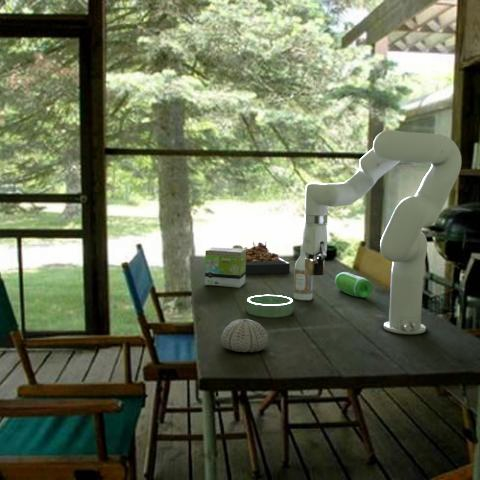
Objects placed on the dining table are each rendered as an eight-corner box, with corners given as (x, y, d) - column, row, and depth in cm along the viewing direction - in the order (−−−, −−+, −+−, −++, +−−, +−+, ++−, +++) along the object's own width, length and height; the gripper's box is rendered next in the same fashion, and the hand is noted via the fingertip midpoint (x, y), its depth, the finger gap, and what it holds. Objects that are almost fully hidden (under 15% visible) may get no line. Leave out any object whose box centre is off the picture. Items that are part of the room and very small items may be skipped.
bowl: (293, 319, 202) (294, 305, 202) (247, 318, 203) (247, 304, 202) (290, 308, 218) (291, 295, 217) (247, 307, 218) (247, 294, 217)
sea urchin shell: (219, 341, 177) (219, 314, 176) (266, 341, 178) (267, 313, 177) (221, 356, 164) (221, 326, 163) (272, 355, 165) (272, 326, 163)
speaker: (333, 290, 248) (333, 271, 247) (348, 289, 251) (349, 270, 250) (356, 299, 232) (356, 279, 231) (372, 298, 234) (373, 278, 233)
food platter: (218, 258, 323) (219, 239, 321) (264, 257, 328) (265, 238, 327) (236, 274, 279) (237, 251, 278) (289, 273, 284) (289, 250, 283)
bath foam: (290, 299, 230) (291, 246, 228) (298, 296, 236) (299, 244, 234) (307, 301, 227) (309, 247, 224) (315, 298, 233) (316, 245, 230)
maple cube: (324, 274, 209) (324, 260, 208) (310, 275, 207) (311, 260, 206) (317, 272, 213) (318, 257, 213) (304, 273, 212) (304, 258, 211)
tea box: (204, 285, 254) (204, 250, 252) (211, 281, 264) (211, 246, 262) (240, 288, 250) (240, 251, 248) (245, 283, 260) (246, 248, 258)
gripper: (295, 217, 214) (294, 269, 217) (317, 222, 198) (315, 278, 201) (314, 217, 217) (313, 268, 219) (338, 222, 201) (336, 277, 203)
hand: (314, 273), depth 210 cm, fingers closed on maple cube, 5 cm apart
